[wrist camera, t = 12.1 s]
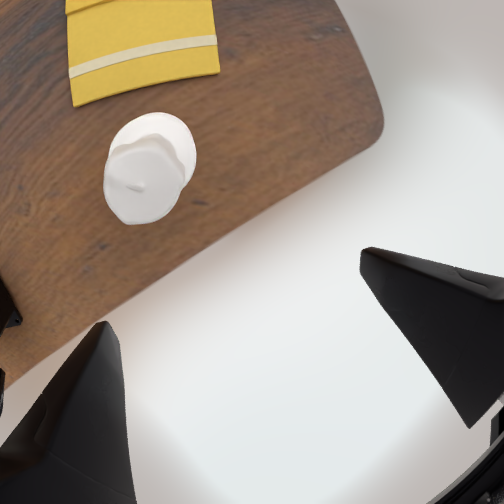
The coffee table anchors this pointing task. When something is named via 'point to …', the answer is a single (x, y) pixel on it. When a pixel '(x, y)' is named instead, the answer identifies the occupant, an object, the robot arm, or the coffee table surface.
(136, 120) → the candle
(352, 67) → the coffee table surface
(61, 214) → the coffee table surface
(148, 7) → the towel
